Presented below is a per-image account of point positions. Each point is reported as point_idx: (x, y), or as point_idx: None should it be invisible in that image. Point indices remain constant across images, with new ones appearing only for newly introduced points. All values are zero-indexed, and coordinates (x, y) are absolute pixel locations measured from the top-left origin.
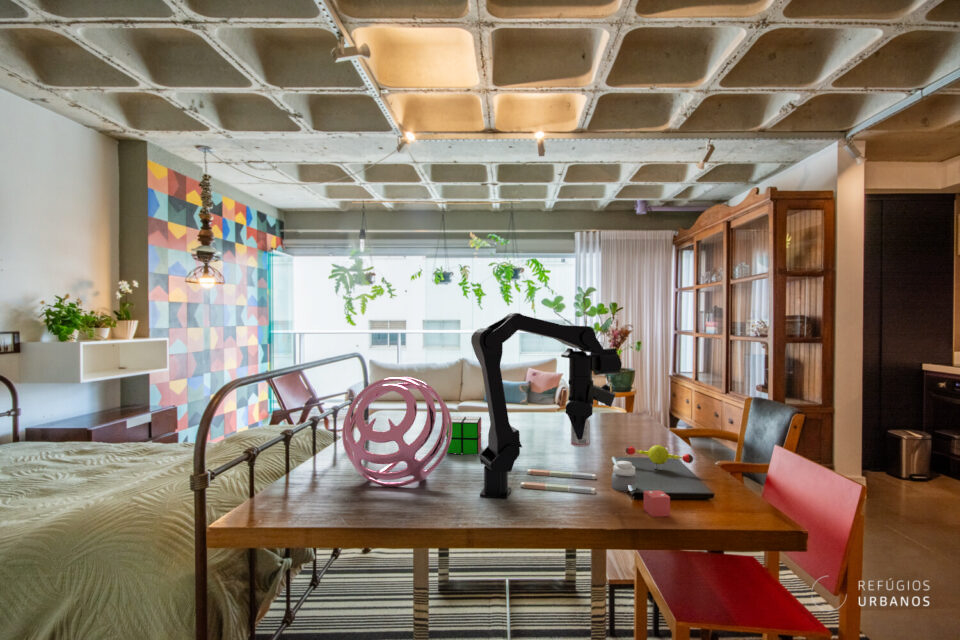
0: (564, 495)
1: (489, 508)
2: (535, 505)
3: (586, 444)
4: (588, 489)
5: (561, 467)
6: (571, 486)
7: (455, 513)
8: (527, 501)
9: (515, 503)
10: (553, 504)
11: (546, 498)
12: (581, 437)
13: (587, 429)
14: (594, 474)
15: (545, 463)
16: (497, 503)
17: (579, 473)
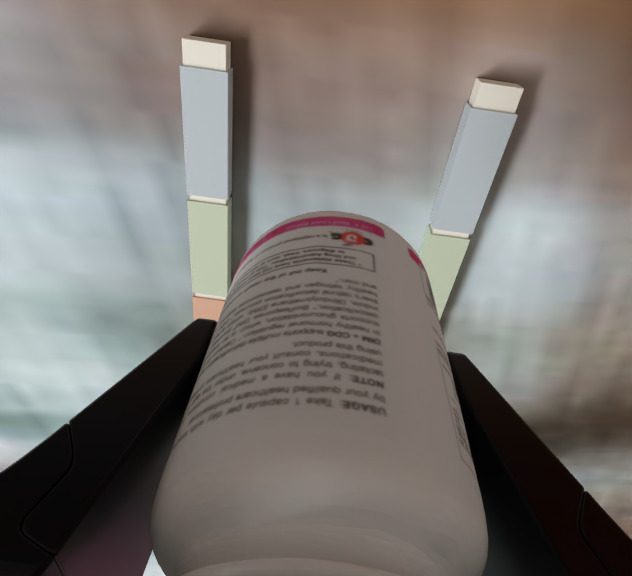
0: (519, 248)
1: (605, 462)
2: (618, 356)
3: (423, 266)
4: (511, 131)
5: (60, 228)
6: (449, 220)
7: (620, 516)
8: (566, 377)
9: (578, 408)
10: (627, 299)
11: (546, 319)
12: (475, 376)
13: (443, 389)
14: (185, 47)
15: (29, 296)
16: (565, 447)
17: (200, 152)
